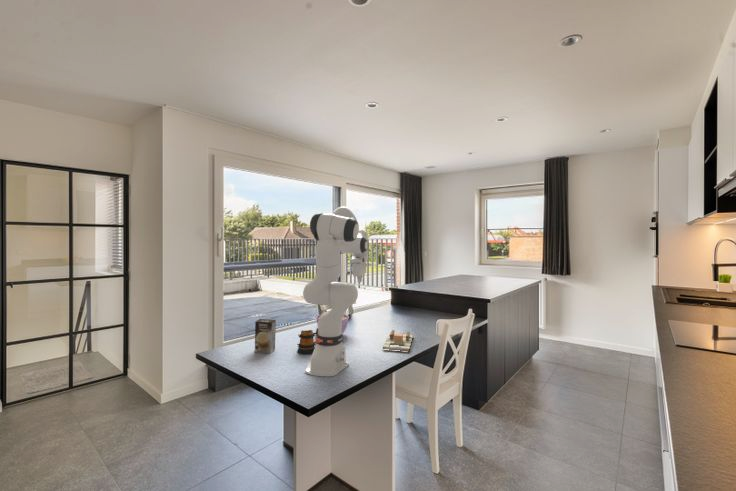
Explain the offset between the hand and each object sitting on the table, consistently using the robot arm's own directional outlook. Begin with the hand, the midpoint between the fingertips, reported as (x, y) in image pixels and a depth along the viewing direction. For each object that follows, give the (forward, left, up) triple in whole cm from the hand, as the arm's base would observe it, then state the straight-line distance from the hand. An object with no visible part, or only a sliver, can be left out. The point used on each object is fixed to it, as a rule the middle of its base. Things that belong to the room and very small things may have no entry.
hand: (359, 282), depth 196 cm
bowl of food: (+6, +18, -34) cm, 39 cm away
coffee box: (-30, +43, -34) cm, 63 cm away
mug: (-24, +21, -34) cm, 47 cm away
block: (-2, -24, -32) cm, 40 cm away
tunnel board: (+1, -23, -34) cm, 41 cm away
